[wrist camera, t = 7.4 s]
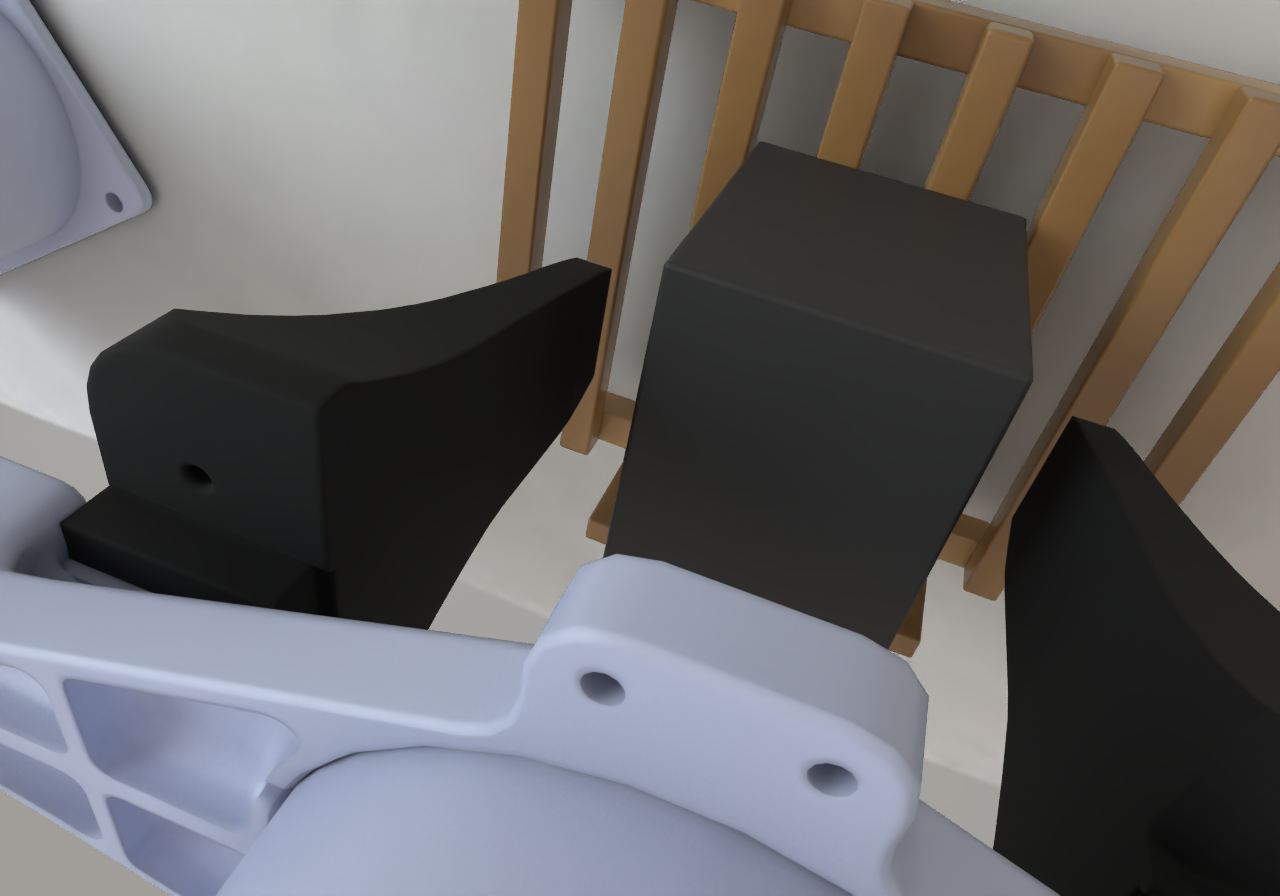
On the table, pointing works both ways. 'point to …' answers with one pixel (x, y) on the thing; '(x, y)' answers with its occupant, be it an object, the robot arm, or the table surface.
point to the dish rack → (995, 65)
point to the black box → (824, 387)
